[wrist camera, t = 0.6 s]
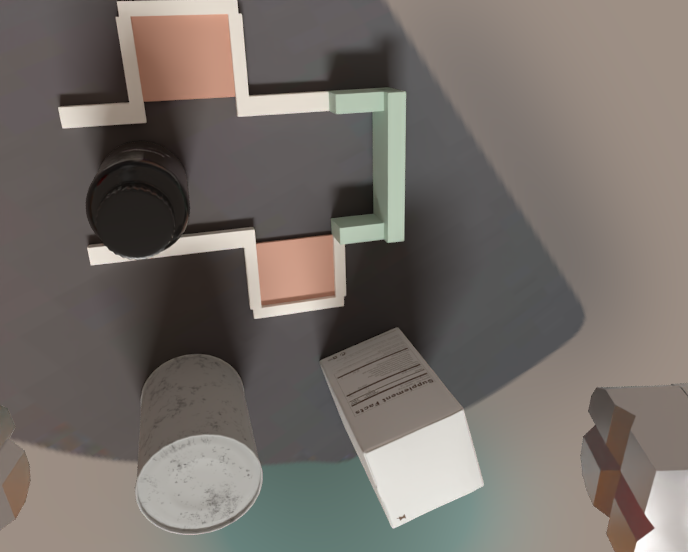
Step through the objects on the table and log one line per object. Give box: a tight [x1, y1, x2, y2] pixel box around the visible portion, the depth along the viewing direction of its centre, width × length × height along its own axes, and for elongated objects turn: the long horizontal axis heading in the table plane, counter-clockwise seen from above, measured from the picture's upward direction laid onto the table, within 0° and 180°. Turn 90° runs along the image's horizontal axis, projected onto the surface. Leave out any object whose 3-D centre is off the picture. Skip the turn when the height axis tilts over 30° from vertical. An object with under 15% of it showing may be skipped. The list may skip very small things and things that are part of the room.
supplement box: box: [320, 327, 484, 528], centre depth 55 cm, size 9×9×15 cm
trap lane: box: [58, 0, 406, 319], centre depth 48 cm, size 26×26×4 cm
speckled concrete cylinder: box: [135, 354, 263, 535], centre depth 51 cm, size 10×10×12 cm
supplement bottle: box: [86, 141, 190, 260], centre depth 43 cm, size 7×7×12 cm
